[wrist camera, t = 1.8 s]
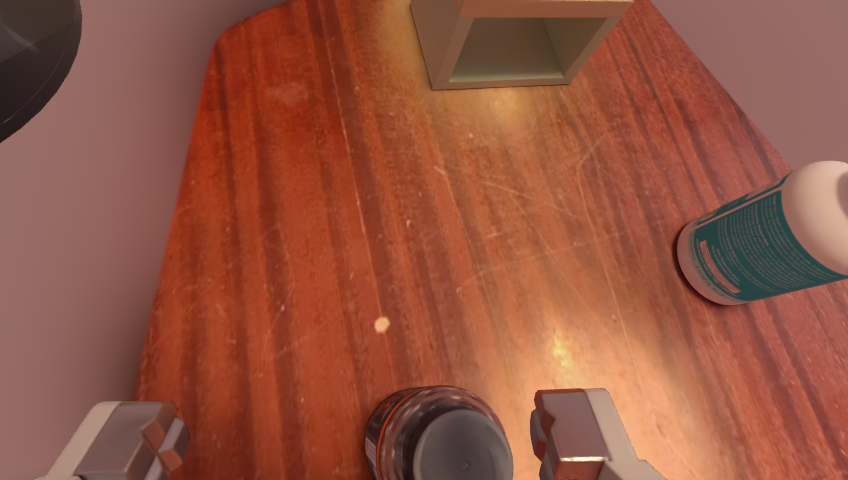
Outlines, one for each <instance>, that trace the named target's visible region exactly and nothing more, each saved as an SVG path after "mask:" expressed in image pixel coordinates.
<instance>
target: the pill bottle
mask: <svg viewBox="0 0 848 480" xmlns="http://www.w3.org/2000/svg"><path fill="white" fill-rule="evenodd" d="M677 256H678V261H679V264H680V267H681V269H682V272H683V274H684V275H685V277H686V279H687V280H688V282H689V283H690V284H691V285H692V286H693V288H694V289H695V290H696V291H698V292H699V293H700V294H701V295H703V296H704V297H706V298H707V299H709V300H711V301H713V302H716V303H719V304H723V305H738V304H743V303H747V302H752V301H756V300H760V299H765V298H769V297H773V296H777V295H781V294H785V293H790V292H794V291H798V290H802V289H807V288H811V287H815V286H819V285H823V284H828V283H832V282H836V281H840V280H845V279H848V164H847V163H844V162H838V161H820V162H815V163H811V164H809V165H806V166H804V167H802V168H800V169H798V170H795V171H793V172H791V173H789V174H787V175H785V176H783V177H781V178H779V179H777V180H775V181H773V182H771V183H769V184H767V185H765V186H763V187H761V188H759V189H757V190H755V191H753V192H751V193H748V194H746V195H744V196H742V197H740V198H738V199H736V200H734V201H732V202H730V203H728V204H726V205H724V206H722V207H720V208H718V209H716V210H714V211H712V212H710V213H707V214H705V215H703V216H701V217H699V218H697V219H695V220H694V221H692V222H690V223H689V224H688V225H687V226H686V227H685V228H684V229H683V230H682V232H681V234H680V236H679V239H678V244H677Z"/></svg>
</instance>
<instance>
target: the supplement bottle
mask: <svg viewBox="0 0 848 480" xmlns="http://www.w3.org/2000/svg"><path fill="white" fill-rule="evenodd" d="M365 453H366V458H367V462H368V465H369V468H370V470H371V472H372V474H373V475H374V477H375V478H376V480H512V479H513V457H512V453H511V449H510V446H509V443H508V441H507V437H506V433H505V431H504V428H503V426H502V424H501V422H500V420H499V418H498V417H497V416H496V414H495V413H494V411H493V410H492V409H491V408H490V407H489V406H488V404H487V403H486V402H484V401H483V400H482V399H481V398H479V397H478V396H476V395H475V394H473V393H472V392H470V391H468V390H465V389H462V388H458V387H454V386H447V385H439V386H427V387H426V386H425V387H419V388H411V389H405V390H401V391H399V392H396V393H394V394H392V395H391V396H390V397H388V398H387V399H385V400H384V401H383V402H382V403H381V404H380V405H379V406H378V408H377V409H376V410H375V412H374V413H373V415H372V417H371V419H370V421H369V423H368V426H367V430H366V436H365Z"/></svg>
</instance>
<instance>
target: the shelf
mask: <svg viewBox="0 0 848 480" xmlns="http://www.w3.org/2000/svg"><path fill="white" fill-rule="evenodd" d="M633 2H634V0H411V4H410V6H411V10H412V14H413V17H414V21H415V25H416V29H417V33H418V37H419V41H420V44H421V48H422V52H423V56H424V60H425V64H426V67H427V71H428V75H429V79H430V83H431V87H432V90H446V89H468V88H491V87H513V86H536V85H558V84H570V82H571V81H572V80H573V78H574V76H576V75H577V73H578V72H579V71H580V69H581V68H582V67H583V66H584V64H585V63H586V62H587V60H588V59H589V58H590V57H591V55H592V54H593V53H594V52H595V50H596V49H597V48H598V46H599V45H600V44H601V43H602V41H603V40H604V39H605V37H606V36H607V35H608V34H609V32H610V31H611V30H612V29H613V27H614V26H615V25H616V23H617V22H618V21H619V20H620V18H621V17H622V16H623V15H624V14H625V12H626V11H627V10H628V8H629V7H630V6H631V5H632V3H633Z"/></svg>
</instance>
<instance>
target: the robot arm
mask: <svg viewBox="0 0 848 480" xmlns="http://www.w3.org/2000/svg"><path fill="white" fill-rule="evenodd" d="M534 402H535V406H536V409H535V410H533V411H532V412H531V419H530V434H531V441H532V446H533V450H534V454H535V455H536V456H537V458H538V459H539V460H540V461H541V462H542V464H541V468H540V472H539V477H540V480H667V479H666V478H665V477H664V476H663V475H661V474H660V473H659V472H658V471H657V470H656V469H655V468H654V467H653V466H651V465H650V464H649V463H648V462H647V461H646V460H638V458H637V456H636V454H635V451H634V449H633V447H632V444H631V442H630V440H629V437H628V435H627V433H626V430H625V428H624V426H623V424H622V421H621V419H620V417H619V414H618V412H617V410H616V407H615V405H614V403H613V400H612V398H611V396H610V394H609V392H608V391H607V390H606V389H604V388H594V389H580V388H577V389H554V390H538V391H537V392H536V393H535V398H534ZM177 412H178V408H177V406H176V405H175V403H174V402H173V401H109V402H99V403H98V404H97V405H95V406H94V407H93V408H92V409H91V410H90V411H89V413H88V414H87V416H86V417H85V419H84V420H83V421H82V423H81V424H80V426H79V427H78V429H77V430H76V432H75V433H74V435H73V436H72V438H71V439H70V440H69V442H68V443H67V445H66V446H65V448H64V449H63V451H62V452H61V454H60V455H59V457H58V458H57V460H56V461H55V462H54V464H53V465H52V467H51V468H50V470H49V471H48V473H47V474H46V476H43V477H37V478H35V479H34V480H172V477H171V474H172V473H173V472H174V471H175V470H176V469H177V468H178V467H179V466H181V465H182V463H183V461H184V459H185V456H186V454H187V451H188V446H189V440H190V434H189V428H188V426H187V424H186V422H185V421H184V420H182V419H180V418H179V417H177V416H176V414H177Z"/></svg>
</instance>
